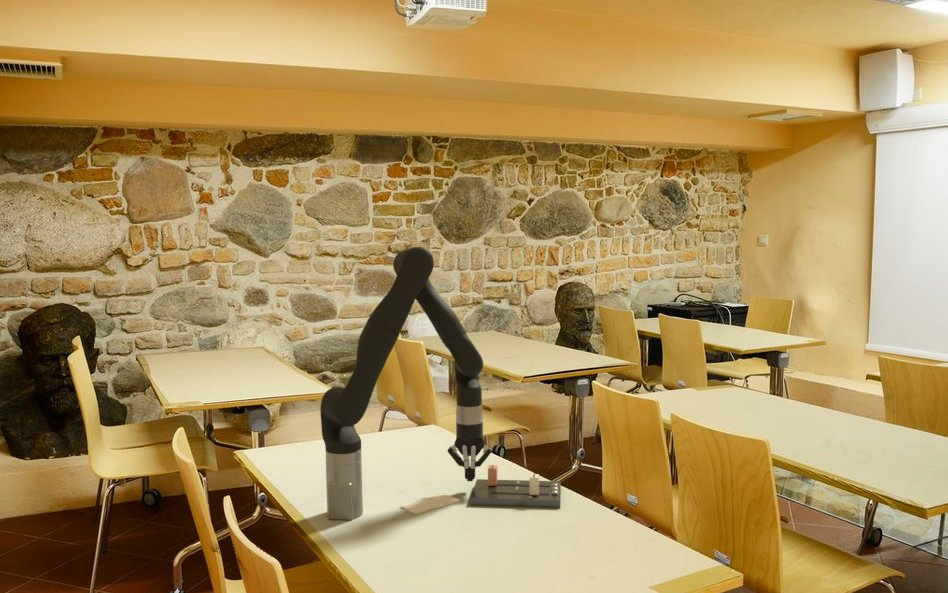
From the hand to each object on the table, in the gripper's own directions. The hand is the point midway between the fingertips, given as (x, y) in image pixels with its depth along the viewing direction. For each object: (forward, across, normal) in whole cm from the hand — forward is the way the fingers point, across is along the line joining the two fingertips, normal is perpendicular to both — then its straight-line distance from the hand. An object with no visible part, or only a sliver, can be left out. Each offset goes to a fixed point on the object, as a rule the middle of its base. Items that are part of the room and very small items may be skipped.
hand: (470, 480), depth 228 cm
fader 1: (+1, +6, 0) cm, 6 cm away
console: (+3, +13, -4) cm, 14 cm away
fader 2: (+1, +18, -7) cm, 20 cm away
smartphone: (+4, -10, -11) cm, 15 cm away
